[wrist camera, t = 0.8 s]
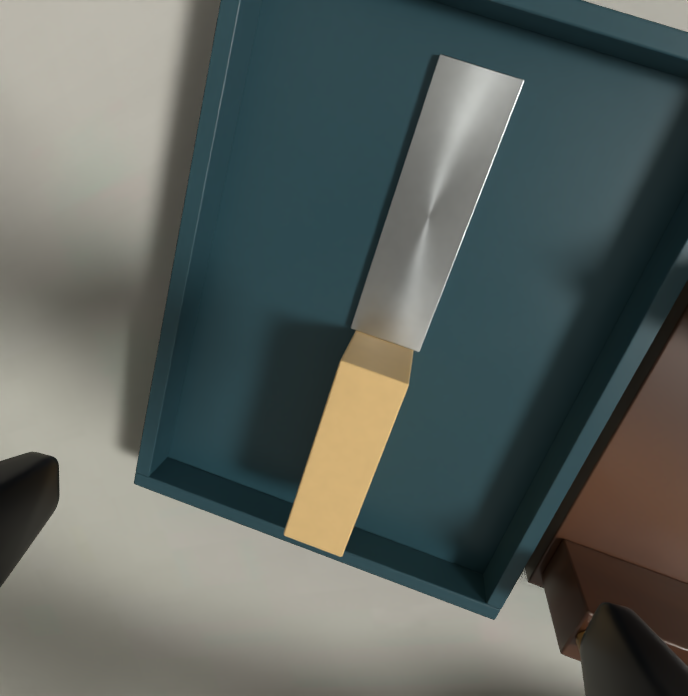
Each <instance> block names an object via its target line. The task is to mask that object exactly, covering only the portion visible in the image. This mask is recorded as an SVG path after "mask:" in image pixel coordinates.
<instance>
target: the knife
mask: <svg viewBox="0 0 688 696" xmlns="http://www.w3.org/2000/svg"><path fill="white" fill-rule="evenodd" d="M523 84H524V80H523V79H520V78H517V77H514V76H511V75H507V74H504V73H501V72H498V71H495V70H491V69H488V68H485V67H482V66H479V65H475V64H472V63H469V62H466V61H463V60H459V59H456V58H453V57H450V56H447V55H443V54H440V55H439V58H438V61H437V65H436V68H435V71H434V74H433V77H432V80H431V83H430V86H429V89H428V92H427V95H426V98H425V101H424V104H423V107H422V110H421V114H420V117H419V120H418V123H417V126H416V129H415V132H414V135H413V138H412V141H411V144H410V147H409V150H408V153H407V156H406V159H405V162H404V166H403V169H402V172H401V175H400V178H399V181H398V184H397V187H396V190H395V193H394V196H393V199H392V202H391V205H390V208H389V211H388V215H387V218H386V221H385V224H384V227H383V230H382V233H381V236H380V239H379V242H378V245H377V248H376V251H375V254H374V257H373V260H372V263H371V267H370V270H369V273H368V276H367V279H366V282H365V285H364V288H363V291H362V294H361V297H360V300H359V303H358V306H357V309H356V312H355V316H354V319H353V322H352V325H351V329H354V330H356V331H355V333H354V335H353V337H352V339H351V341H350V343H349V344H348V346H347V348H346V350H345V352H344V354H343V356H342V358H341V360H340V362H339V365H338V368H337V371H336V374H335V377H334V380H333V384H332V387H331V390H330V393H329V396H328V399H327V402H326V405H325V408H324V411H323V414H322V417H321V420H320V423H319V426H318V429H317V432H316V436H315V439H314V442H313V445H312V448H311V451H310V454H309V457H308V460H307V463H306V466H305V469H304V472H303V475H302V478H301V481H300V484H299V488H298V491H297V494H296V497H295V500H294V503H293V506H292V509H291V512H290V515H289V518H288V521H287V524H286V527H285V530H284V536H286V537H289V538H292V539H294V540H297V541H299V542H302V543H305V544H307V545H310V546H313V547H315V548H318V549H321V550H323V551H326V552H329V553H331V554H334V555H337V556H339V557H342V556H343V553H344V551H345V548H346V546H347V543H348V540H349V538H350V535H351V533H352V530H353V528H354V525H355V522H356V520H357V517H358V515H359V512H360V510H361V507H362V504H363V502H364V499H365V497H366V494H367V492H368V489H369V487H370V484H371V481H372V479H373V476H374V474H375V471H376V469H377V466H378V463H379V461H380V458H381V456H382V453H383V451H384V448H385V445H386V443H387V440H388V438H389V435H390V433H391V430H392V427H393V425H394V422H395V420H396V417H397V415H398V412H399V409H400V407H401V404H402V402H403V399H404V397H405V394H406V391H407V389H408V386H409V380H410V373H411V366H412V358H413V351H417V352H420V350H421V347H422V344H423V342H424V339H425V337H426V334H427V331H428V329H429V326H430V324H431V321H432V319H433V316H434V313H435V311H436V308H437V306H438V303H439V300H440V298H441V295H442V293H443V290H444V288H445V285H446V282H447V280H448V277H449V275H450V272H451V270H452V267H453V264H454V262H455V259H456V257H457V254H458V251H459V249H460V246H461V244H462V241H463V239H464V236H465V233H466V231H467V228H468V226H469V223H470V220H471V218H472V215H473V213H474V210H475V208H476V205H477V202H478V200H479V197H480V195H481V192H482V190H483V187H484V184H485V182H486V179H487V177H488V174H489V171H490V169H491V166H492V164H493V161H494V159H495V156H496V153H497V151H498V148H499V146H500V143H501V140H502V138H503V135H504V133H505V130H506V128H507V125H508V122H509V120H510V117H511V115H512V112H513V110H514V107H515V104H516V102H517V99H518V97H519V94H520V91H521V89H522V86H523Z"/></svg>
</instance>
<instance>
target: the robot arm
mask: <svg viewBox="0 0 688 696" xmlns="http://www.w3.org/2000/svg"><path fill="white" fill-rule="evenodd" d="M58 501H59V464H58V461H57V459H56V458H54V457H53V456H49V455H45V454H41V453H37V452H28V453H25V454H22V455H19V456H15V457H12V458H9V459H6V460H3V461H0V587H1V586H2V584H3V583H4V582H5V580H6V579H7V578H8V576H9V575H10V573H11V572H12V571H13V569H14V568H15V566H16V565H17V563H18V562H19V561H20V559H21V558H22V556H23V555H24V554H25V552H26V551H27V549H28V548H29V546H30V545H31V544H32V542H33V541H34V539H35V538H36V537H37V535H38V534H39V532H40V531H41V529H42V528H43V527H44V525H45V524H46V522H47V521H48V520H49V518H50V517H51V515H52V514H53V512H54V511H55V509H56V507H57V504H58ZM580 656H581V664H582V672H583V680H584V687H585V695H586V696H688V666H687V665H686V664H685V663H684V662H683V661H682V660H681V659H680V658H679V657H678V656H677V655H676V654H675V653H674V652H673V651H672V650H671V649H670V648H669V647H668V645H667V644H666V643H665V642H664V641H663V640H662V639H661V638H660V637H659V636H658V635H657V634H656V633H655V632H654V631H653V630H652V629H651V628H650V627H649V626H648V625H647V624H646V623H645V622H644V621H643V620H642V619H641V618H640V617H639V616H638V615H637V614H636V613H635V612H634V611H633V610H632V609H630V608H628V607H625V606H621V605H617V604H614V603H610V602H603V603H601V604H600V605H599V606H598V608H597V610H596V611H595V613H594V615H593V617H592V619H591V621H590V623H589V625H588V627H587V629H586V631H585V632H584V634H583V637H582V640H581V645H580Z"/></svg>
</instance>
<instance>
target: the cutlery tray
mask: <svg viewBox="0 0 688 696" xmlns="http://www.w3.org/2000/svg"><path fill="white" fill-rule="evenodd" d="M440 54H443V55H447V56H450V57H453V58H456V59H459V60H463V61H466V62H469V63H472V64H475V65H479V66H482V67H485V68H488V69H491V70H495V71H498V72H501V73H504V74H507V75H511V76H514V77H517V78H520V79H523V80H524V84H523V86H522V89H521V91H520V94H519V97H518V99H517V102H516V104H515V107H514V110H513V112H512V115H511V117H510V120H509V122H508V125H507V128H506V130H505V133H504V135H503V138H502V140H501V143H500V146H499V148H498V151H497V153H496V156H495V159H494V161H493V164H492V166H491V169H490V171H489V174H488V177H487V179H486V182H485V184H484V187H483V190H482V192H481V195H480V197H479V200H478V202H477V205H476V208H475V210H474V213H473V215H472V218H471V220H470V223H469V226H468V228H467V231H466V233H465V236H464V239H463V241H462V244H461V246H460V249H459V251H458V254H457V257H456V259H455V262H454V264H453V267H452V270H451V272H450V275H449V277H448V280H447V282H446V285H445V288H444V290H443V293H442V295H441V298H440V300H439V303H438V306H437V308H436V311H435V313H434V316H433V319H432V321H431V324H430V326H429V329H428V331H427V334H426V337H425V339H424V342H423V344H422V347H421V350H420V352H417V351H413V358H412V366H411V373H410V380H409V386H408V389H407V391H406V394H405V397H404V399H403V402H402V404H401V407H400V409H399V412H398V415H397V417H396V420H395V422H394V425H393V427H392V430H391V433H390V435H389V438H388V440H387V443H386V445H385V448H384V451H383V453H382V456H381V458H380V461H379V463H378V466H377V469H376V471H375V474H374V476H373V479H372V481H371V484H370V487H369V489H368V492H367V494H366V497H365V499H364V502H363V504H362V507H361V510H360V512H359V515H358V517H357V520H356V522H355V525H354V528H353V530H352V533H351V535H350V538H349V540H348V543H347V546H346V548H345V551H344V553H343V556H342V557H339V556H337V555H334V554H331V553H329V552H326V551H323V550H321V549H318V548H315V547H313V546H310V545H307V544H305V543H302V542H299V541H297V540H294V539H292V538H289V537H286V536H284V530H285V527H286V524H287V521H288V518H289V515H290V512H291V509H292V506H293V503H294V500H295V497H296V494H297V491H298V488H299V484H300V481H301V478H302V475H303V472H304V469H305V466H306V463H307V460H308V457H309V454H310V451H311V448H312V445H313V442H314V439H315V436H316V432H317V429H318V426H319V423H320V420H321V417H322V414H323V411H324V408H325V405H326V402H327V399H328V396H329V393H330V390H331V387H332V384H333V380H334V377H335V374H336V371H337V368H338V365H339V362H340V360H341V358H342V356H343V354H344V352H345V350H346V348H347V346H348V344H349V343H350V341H351V339H352V337H353V335H354V333H355V331H356V330H354V329H351V325H352V322H353V319H354V316H355V312H356V309H357V306H358V303H359V300H360V297H361V294H362V291H363V288H364V285H365V282H366V279H367V276H368V273H369V270H370V267H371V263H372V260H373V257H374V254H375V251H376V248H377V245H378V242H379V239H380V236H381V233H382V230H383V227H384V224H385V221H386V218H387V215H388V211H389V208H390V205H391V202H392V199H393V196H394V193H395V190H396V187H397V184H398V181H399V178H400V175H401V172H402V169H403V166H404V162H405V159H406V156H407V153H408V150H409V147H410V144H411V141H412V138H413V135H414V132H415V129H416V126H417V123H418V120H419V117H420V114H421V110H422V107H423V104H424V101H425V98H426V95H427V92H428V89H429V86H430V83H431V80H432V77H433V74H434V71H435V68H436V65H437V61H438V58H439V55H440ZM687 280H688V32H685V31H682V30H679V29H675V28H672V27H669V26H665V25H662V24H659V23H656V22H652V21H649V20H646V19H642V18H639V17H636V16H632V15H629V14H626V13H622V12H619V11H616V10H612V9H609V8H606V7H602V6H599V5H596V4H593V3H589V2H586V1H583V0H221V2H220V7H219V13H218V19H217V24H216V30H215V35H214V41H213V46H212V52H211V57H210V63H209V68H208V74H207V80H206V85H205V91H204V96H203V102H202V107H201V113H200V118H199V124H198V129H197V135H196V140H195V146H194V152H193V157H192V163H191V168H190V174H189V179H188V185H187V190H186V196H185V201H184V207H183V212H182V218H181V224H180V229H179V235H178V240H177V246H176V251H175V257H174V262H173V268H172V273H171V279H170V285H169V290H168V296H167V301H166V307H165V312H164V318H163V323H162V329H161V334H160V340H159V345H158V351H157V357H156V362H155V368H154V373H153V379H152V384H151V390H150V395H149V401H148V406H147V412H146V417H145V423H144V429H143V434H142V440H141V445H140V451H139V456H138V462H137V467H136V474H135V479H134V484H136V485H139V486H141V487H144V488H146V489H149V490H152V491H154V492H157V493H160V494H162V495H165V496H168V497H170V498H173V499H176V500H178V501H181V502H184V503H186V504H189V505H191V506H194V507H197V508H199V509H202V510H205V511H207V512H210V513H213V514H215V515H218V516H221V517H223V518H226V519H228V520H231V521H234V522H236V523H239V524H242V525H244V526H247V527H250V528H252V529H255V530H258V531H260V532H263V533H266V534H268V535H271V536H273V537H276V538H279V539H281V540H284V541H287V542H289V543H292V544H295V545H297V546H300V547H303V548H305V549H308V550H311V551H313V552H316V553H318V554H321V555H324V556H326V557H329V558H332V559H334V560H337V561H340V562H342V563H345V564H348V565H350V566H353V567H355V568H358V569H361V570H363V571H366V572H369V573H371V574H374V575H377V576H379V577H382V578H385V579H387V580H390V581H393V582H395V583H398V584H400V585H403V586H406V587H408V588H411V589H414V590H416V591H419V592H422V593H424V594H427V595H430V596H432V597H435V598H437V599H440V600H443V601H445V602H448V603H451V604H453V605H456V606H459V607H461V608H464V609H467V610H469V611H472V612H475V613H477V614H480V615H482V616H485V617H488V618H490V619H493V620H494V619H495V618H496V617H497V615H498V613H499V611H500V609H501V608H502V607H503V605H504V603H505V601H506V599H507V598H508V596H509V594H510V592H511V591H512V589H513V587H514V585H515V584H516V582H517V580H518V578H519V577H520V575H521V573H522V571H523V569H524V568H525V566H526V564H527V562H528V561H529V559H530V557H531V555H532V554H533V552H534V550H535V548H536V547H537V545H538V543H539V541H540V539H541V538H542V536H543V534H544V532H545V531H546V529H547V527H548V525H549V524H550V522H551V520H552V518H553V517H554V515H555V513H556V511H557V510H558V508H559V506H560V504H561V502H562V501H563V499H564V497H565V495H566V494H567V492H568V490H569V488H570V487H571V485H572V483H573V481H574V480H575V478H576V476H577V474H578V472H579V471H580V469H581V467H582V465H583V464H584V462H585V460H586V458H587V457H588V455H589V453H590V451H591V450H592V448H593V446H594V444H595V442H596V441H597V439H598V437H599V435H600V434H601V432H602V430H603V428H604V427H605V425H606V423H607V421H608V420H609V418H610V416H611V414H612V412H613V411H614V409H615V407H616V405H617V404H618V402H619V400H620V398H621V397H622V395H623V393H624V391H625V390H626V388H627V386H628V384H629V382H630V381H631V379H632V377H633V375H634V374H635V372H636V370H637V368H638V367H639V365H640V363H641V361H642V360H643V358H644V356H645V354H646V353H647V351H648V349H649V347H650V345H651V344H652V342H653V340H654V338H655V337H656V335H657V333H658V331H659V330H660V328H661V326H662V324H663V323H664V321H665V319H666V317H667V315H668V314H669V312H670V310H671V308H672V307H673V305H674V303H675V301H676V300H677V298H678V296H679V294H680V293H681V291H682V289H683V287H684V285H685V284H686V282H687Z"/></svg>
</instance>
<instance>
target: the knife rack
mask: <svg viewBox="0 0 688 696" xmlns="http://www.w3.org/2000/svg"><path fill="white" fill-rule="evenodd" d="M525 570H526V574H527V579H528V582H529V583H532V584H535V585H537V586H540V587H543V588H544V589H545V593H546V597H547V601H548V605H549V609H550V613H551V617H552V621H553V625H554V629H555V633H556V637H557V641H558V645H559V649H560V652H561V654H563V655H565V656H568V657H570V658H573V659H576V660H578V661H581V656H580V645H581V640H582V637H583V634H584V632H585V631H586V629H587V627H588V625H589V623H590V621H591V619H592V617H593V615H594V613H595V611H596V610H597V608H598V606H599V605H600V604H601V603H603V602H610V603H614V604H617V605H621V606H625V607H628V608H630V609H632V610H633V611H634V612H635V613H636V614H637V615H638V616H639V617H640V618H641V619H642V620H643V621H644V622H645V623H646V624H647V625H648V626H649V627H650V628H651V629H652V630H653V631H654V632H655V633H656V634H657V635H658V636H659V637H660V638H661V639H662V640H663V641H664V642H665V643H666V644H667V645H668V647H669V648H670V649H671V650H672V651H673V652H674V653H675V654H676V655H677V656H678V657H679V658H680V659H681V660H682V661H683V662H684V663H685V664H686V665H687V666H688V280H687V282H686V284H685V285H684V287H683V289H682V291H681V293H680V294H679V296H678V298H677V300H676V301H675V303H674V305H673V307H672V308H671V310H670V312H669V314H668V315H667V317H666V319H665V321H664V323H663V324H662V326H661V328H660V330H659V331H658V333H657V335H656V337H655V338H654V340H653V342H652V344H651V345H650V347H649V349H648V351H647V353H646V354H645V356H644V358H643V360H642V361H641V363H640V365H639V367H638V368H637V370H636V372H635V374H634V375H633V377H632V379H631V381H630V382H629V384H628V386H627V388H626V390H625V391H624V393H623V395H622V397H621V398H620V400H619V402H618V404H617V405H616V407H615V409H614V411H613V412H612V414H611V416H610V418H609V420H608V421H607V423H606V425H605V427H604V428H603V430H602V432H601V434H600V435H599V437H598V439H597V441H596V442H595V444H594V446H593V448H592V450H591V451H590V453H589V455H588V457H587V458H586V460H585V462H584V464H583V465H582V467H581V469H580V471H579V472H578V474H577V476H576V478H575V480H574V481H573V483H572V485H571V487H570V488H569V490H568V492H567V494H566V495H565V497H564V499H563V501H562V502H561V504H560V506H559V508H558V510H557V511H556V513H555V515H554V517H553V518H552V520H551V522H550V524H549V525H548V527H547V529H546V531H545V532H544V534H543V536H542V538H541V539H540V541H539V543H538V545H537V547H536V548H535V550H534V552H533V554H532V555H531V557H530V559H529V561H528V562H527V564H526V566H525Z"/></svg>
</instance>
